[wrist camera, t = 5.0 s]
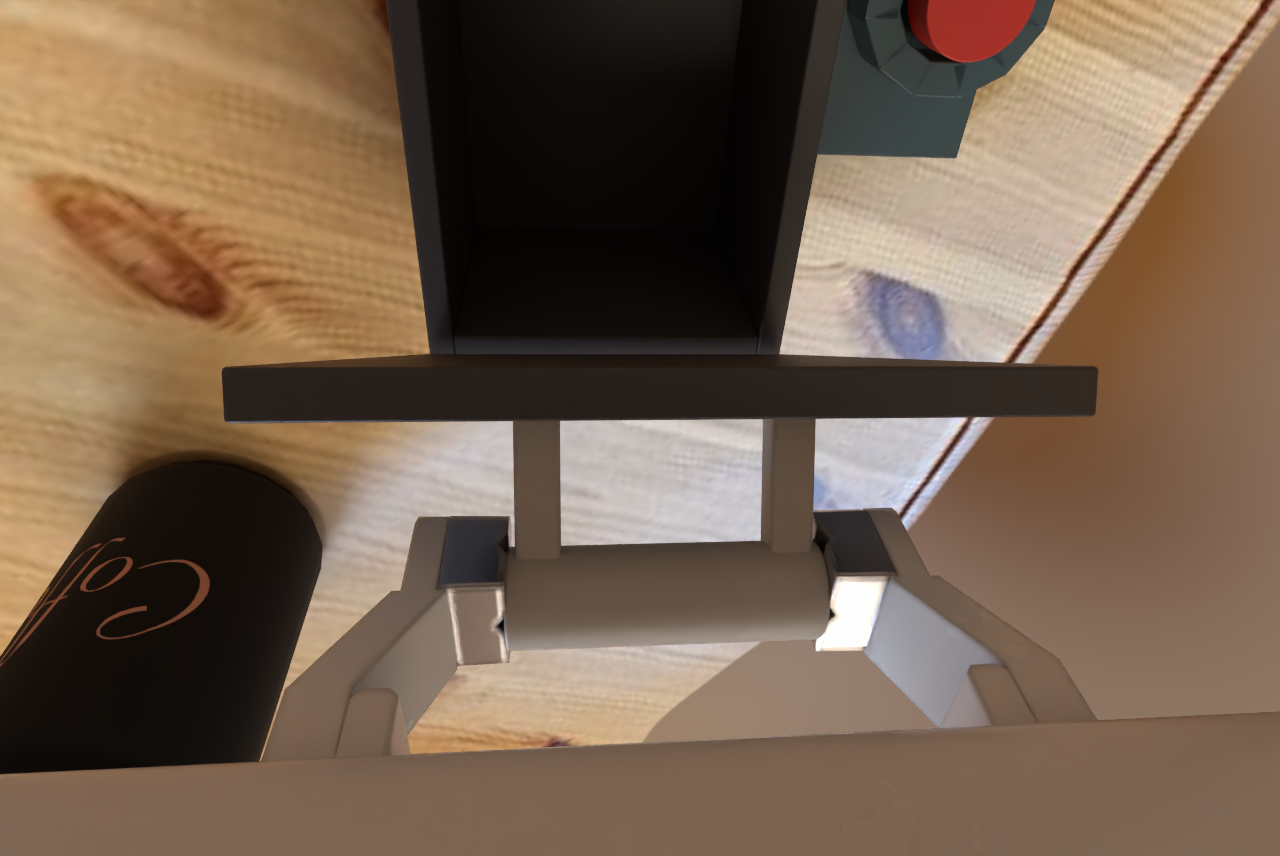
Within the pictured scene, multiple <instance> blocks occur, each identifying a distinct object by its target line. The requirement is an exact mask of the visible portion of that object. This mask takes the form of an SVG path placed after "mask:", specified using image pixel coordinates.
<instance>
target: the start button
mask: <svg viewBox="0 0 1280 856" xmlns="http://www.w3.org/2000/svg"><path fill="white" fill-rule="evenodd" d="M1035 2H1036V0H908V5H907V9H908V18H909V23H910V26H911V28H912V30H913V32H914V34H915V36H916V37H917V38H918V40H919V41H920V42H921V43H922V44H924V45H925V46H927V47H928V48H930V49H932V50H934V51H936V52H937V53H939V54H941V55H943V56H945V57H947V58H949V59H951V60H954V61H957V62H975V61H980V60H983V59H986V58H988V57H991V56H993V55H994V54H996V53H998V52H1000V51H1001V50H1002V49H1004V48H1005V47H1006V46H1007V45H1009V44H1010V43H1011V42H1012V41H1013V40H1014V39H1015V38H1016V37H1017V35H1018V34H1019V33H1020V32H1021V30H1022V29H1023V28H1024V26H1025V24H1026V23H1027V21H1028V19H1029V17H1030V15H1031V13H1032V11H1033V8H1034V5H1035Z"/></svg>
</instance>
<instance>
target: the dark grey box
mask: <svg viewBox="0 0 1280 856" xmlns="http://www.w3.org/2000/svg"><path fill="white" fill-rule="evenodd" d="M846 1H847V0H386V6H387V14H388V22H389V30H390V38H391V46H392V53H393V61H394V69H395V77H396V85H397V93H398V101H399V109H400V117H401V125H402V133H403V141H404V149H405V157H406V165H407V173H408V181H409V189H410V197H411V205H412V213H413V221H414V229H415V237H416V245H417V253H418V261H419V269H420V277H421V285H422V293H423V301H424V309H425V317H426V325H427V333H428V341H429V348H430V354H779V352H780V346H781V341H782V336H783V331H784V325H785V320H786V315H787V310H788V304H789V299H790V294H791V289H792V283H793V278H794V273H795V268H796V262H797V257H798V252H799V247H800V242H801V236H802V231H803V226H804V221H805V215H806V210H807V205H808V200H809V194H810V189H811V184H812V179H813V173H814V168H815V163H816V158H817V152H818V147H819V142H820V137H821V131H822V126H823V121H824V116H825V111H826V105H827V100H828V95H829V90H830V84H831V79H832V74H833V69H834V63H835V58H836V53H837V48H838V42H839V37H840V32H841V27H842V21H843V16H844V11H845V6H846Z"/></svg>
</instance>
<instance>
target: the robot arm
mask: <svg viewBox="0 0 1280 856" xmlns="http://www.w3.org/2000/svg"><path fill="white" fill-rule="evenodd" d="M511 538H512V530H511V519H510V516H450V517H419V518H418V519H417V521H416V523H415V526H414V530H413V535H412V540H411V544H410V549H409V554H408V558H407V563H406V568H405V572H404V577H403V582H402V586H401V591H391V592H390V593H389V594H388V595H387V596H386V597H384V598H383V599H382V600H381V601H380V602H379V603H378V604H377V605H376V606H375V607H374V608H373V609H372V610H370V611H369V612H368V613H367V614H366V615H365V616H364V617H363V618H362V619H361V620H360V621H359V622H357V623H356V624H355V625H354V626H353V627H352V628H351V629H350V630H349V631H348V632H347V633H346V634H345V635H343V636H342V637H341V638H340V639H339V640H338V641H337V642H336V643H335V644H334V645H333V646H332V647H330V648H329V649H328V650H327V651H326V652H325V653H324V654H323V655H322V656H321V657H320V658H319V659H318V660H316V661H315V662H314V663H313V664H312V665H311V666H310V667H309V668H308V669H307V670H306V671H305V672H303V673H302V674H301V675H300V676H299V677H298V678H297V679H296V680H295V681H294V682H293V683H292V684H291V685H289V686H288V687H287V688H286V689H285V691H284V694H283V697H282V700H281V703H280V706H279V709H278V712H277V715H276V718H275V721H274V724H273V727H272V730H271V733H270V736H269V739H268V742H267V745H266V748H265V751H264V754H263V757H262V760H261V761H260V762H240V763H220V764H200V765H179V766H159V767H139V768H119V769H99V770H79V771H58V772H38V773H18V774H0V856H1280V712H1261V713H1240V714H1220V715H1199V716H1181V717H1180V716H1179V717H1158V718H1138V719H1118V720H1097V718H1096V717H1095V715H1094V714H1093V712H1092V711H1091V709H1090V708H1089V706H1088V704H1087V702H1086V701H1085V699H1084V698H1083V696H1082V694H1081V693H1080V691H1079V690H1078V688H1077V687H1076V685H1075V683H1074V682H1073V680H1072V678H1071V677H1070V675H1069V674H1068V672H1067V671H1066V669H1065V667H1064V666H1063V664H1062V662H1061V661H1060V659H1058V658H1057V657H1055V656H1054V655H1053V654H1051V653H1050V652H1048V651H1047V650H1045V649H1044V648H1042V647H1041V646H1040V645H1038V644H1037V643H1035V642H1034V641H1032V640H1031V639H1029V638H1028V637H1026V636H1025V635H1024V634H1022V633H1021V632H1019V631H1018V630H1016V629H1015V628H1013V627H1012V626H1011V625H1009V624H1007V623H1006V622H1005V621H1003V620H1002V619H1000V618H999V617H998V616H996V615H995V614H993V613H992V612H990V611H989V610H987V609H986V608H984V607H983V606H982V605H980V604H979V603H977V602H976V601H974V600H973V599H971V598H970V597H969V596H967V595H966V594H964V593H963V592H961V591H960V590H958V589H957V588H955V587H954V586H953V585H951V584H950V583H948V582H947V581H945V580H944V579H942V578H941V577H939V576H930V574H929V573H928V571H927V569H926V567H925V565H924V563H923V561H922V559H921V557H920V556H919V554H918V552H917V550H916V548H915V546H914V544H913V542H912V540H911V539H910V537H909V535H908V533H907V531H906V529H905V527H904V525H903V523H902V522H901V520H900V518H899V516H898V514H897V512H896V511H895V510H894V509H892V508H870V509H862V510H861V509H846V510H813V533H812V541H814V542H815V543H816V544H817V545H818V546H819V548H820V550H821V552H822V554H823V558H824V561H825V565H826V569H827V574H828V580H829V590H830V614H829V621H828V625H827V628H826V631H825V633H824V634H823V636H822V637H820V638H818V639H812V641H813V644H814V647H815V650H816V651H850V650H851V651H857V650H858V651H859V650H865V651H864V653H865V654H866V655H867V656H868V657H869V658H870V659H871V660H872V661H873V662H874V663H875V664H876V665H877V666H878V667H879V668H880V669H881V670H882V671H883V672H884V673H885V674H886V675H887V676H888V677H889V678H890V679H891V680H892V681H893V682H894V683H895V684H896V685H897V686H898V687H899V688H900V689H901V690H902V691H903V692H904V693H905V694H906V695H907V696H908V697H909V698H910V699H911V700H912V701H913V702H914V703H915V704H916V705H917V706H918V707H919V708H920V709H921V710H922V711H923V712H924V713H925V714H926V716H928V717H929V718H930V720H932V722H933V723H935V724H936V726H937V727H938V728H933V729H912V730H893V731H892V730H891V731H872V732H852V733H832V734H831V733H830V734H810V735H790V736H770V737H750V738H729V739H711V740H710V739H708V740H688V741H669V742H668V741H667V742H647V743H626V744H606V745H585V746H565V747H545V748H524V749H504V750H484V751H463V752H443V753H423V754H411V752H410V747H409V742H408V738H407V735H408V734H409V733H410V731H411V730H412V729H413V727H414V726H415V725H416V723H417V722H418V721H419V719H420V718H421V717H422V715H423V714H424V713H425V711H426V710H427V709H428V707H429V706H430V705H431V703H432V702H433V701H434V699H435V698H436V697H437V695H438V694H439V692H440V691H441V690H442V688H443V687H444V686H445V684H446V683H447V682H448V680H449V679H450V678H451V676H452V675H453V674H454V672H455V671H456V670H457V666H464V665H479V664H495V663H509V660H510V651H509V650H507V647H506V643H505V632H504V613H505V612H506V573H507V555H506V552H507V550H508V549H509V548H510V547H511Z"/></svg>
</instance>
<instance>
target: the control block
mask: <svg viewBox="0 0 1280 856" xmlns="http://www.w3.org/2000/svg"><path fill="white" fill-rule="evenodd" d="M1053 3H1054V0H1036V2H1035V5H1034V8H1033V11H1032V13H1031V15H1030V17H1029V19H1028V21H1027V23H1026V24H1025V26H1024V28H1023V29H1022V30H1021V32H1020V33H1019V34H1018V35H1017V37H1016V38H1015V39H1014V40H1013V41H1012V42H1011V43H1010V44H1009V45H1007V46H1006V47H1005V48H1004V49H1002V50H1001V51H1000V52H998V53H996V54H994V55H993V56H991V57H988V58H986V59H983V60H980V61H975V62H957V61H954V60H951V59H949V58H947V57H945V56H943V55H941V54H939V53H937V52H936V51H934V50H932V49H930V48H928V47H927V46H925V45H924V44H922V43H921V42H920V41H919V40H918V38H917V37H916V36H915V34H914V32H913V30H912V28H911V26H910V23H909V18H908V9H907V5H908V0H847V1H846V6H845V11H844V16H843V21H842V27H841V32H840V37H839V42H838V48H837V53H836V58H835V63H834V69H833V74H832V79H831V84H830V90H829V95H828V100H827V105H826V111H825V116H824V121H823V126H822V131H821V137H820V142H819V147H818V152H817V154H821V155H856V156H891V157H926V158H956V157H957V153H958V150H959V147H960V143H961V140H962V137H963V133H964V130H965V127H966V123H967V120H968V116H969V113H970V110H971V106H972V103H973V100H974V96H975V93H976V90H977V89H978V88H980V87H982V86H984V85H986V84H988V83H990V82H992V81H994V80H996V79H998V78H1000V77H1002V76H1004V75H1006V73H1007V72H1009V70H1010V69H1011V68H1012V67H1013V66H1014V65H1015V63H1016V62H1017V61H1018V60H1019V59H1020V57H1021V56H1022V55H1023V54H1024V53H1025V51H1026V50H1027V49H1028V48H1029V47H1030V46H1031V44H1032V43H1033V42H1034V41H1035V40H1036V38H1037V37H1038V36H1039V35H1040V34H1041V32H1042V31H1043V30H1044V27H1045V26H1046V24H1047V21H1048V18H1049V15H1050V12H1051V9H1052V6H1053Z"/></svg>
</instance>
